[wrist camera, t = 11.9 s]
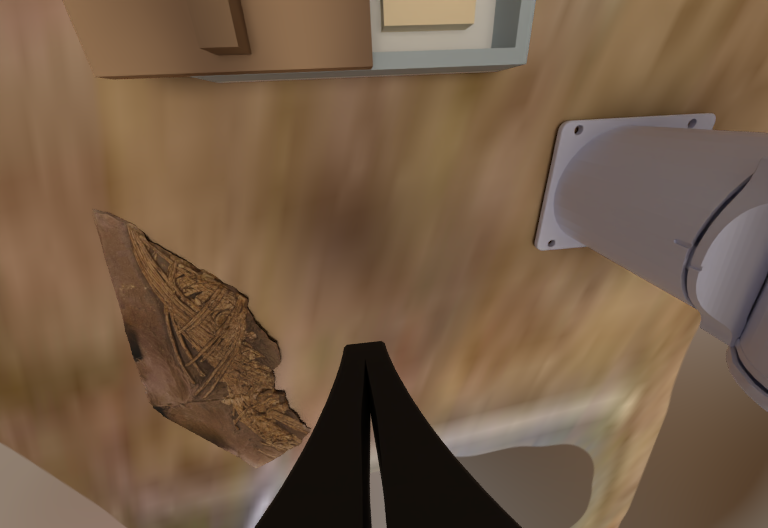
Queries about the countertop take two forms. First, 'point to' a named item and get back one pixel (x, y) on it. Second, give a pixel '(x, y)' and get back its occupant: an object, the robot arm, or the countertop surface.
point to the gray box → (433, 39)
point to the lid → (221, 36)
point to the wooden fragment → (198, 348)
